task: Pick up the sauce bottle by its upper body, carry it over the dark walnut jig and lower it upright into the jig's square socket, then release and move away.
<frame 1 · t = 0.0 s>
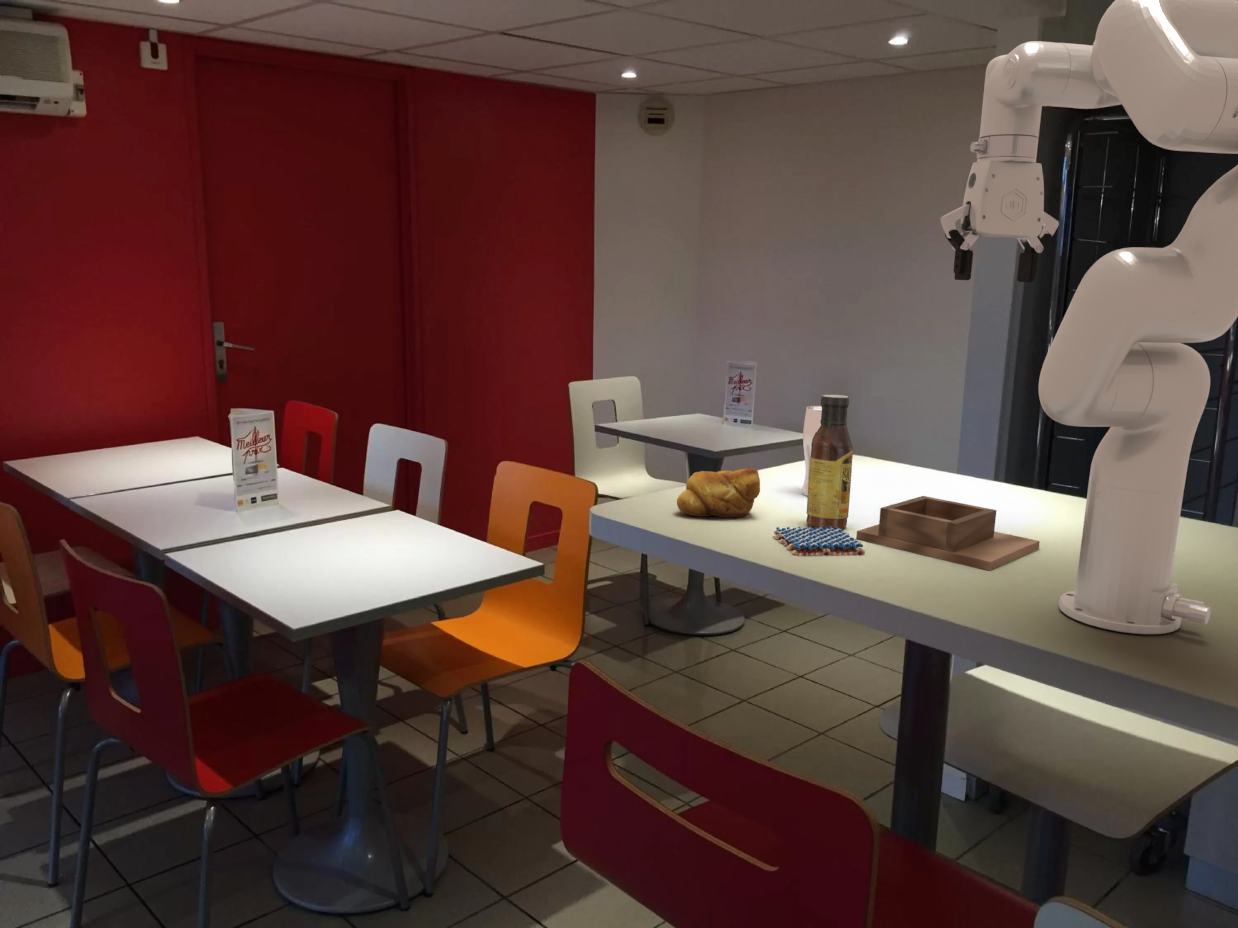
hand: (994, 281, 140), 37 cm above the table, tool pointing down, fingers open, 9 cm apart
woven mat: (816, 550, 142), on the table
bread roll: (714, 514, 159), on the table
sauce bottle: (826, 527, 153), on the table
beer glass: (819, 495, 175), on the table
walnut jig: (935, 544, 145), on the table
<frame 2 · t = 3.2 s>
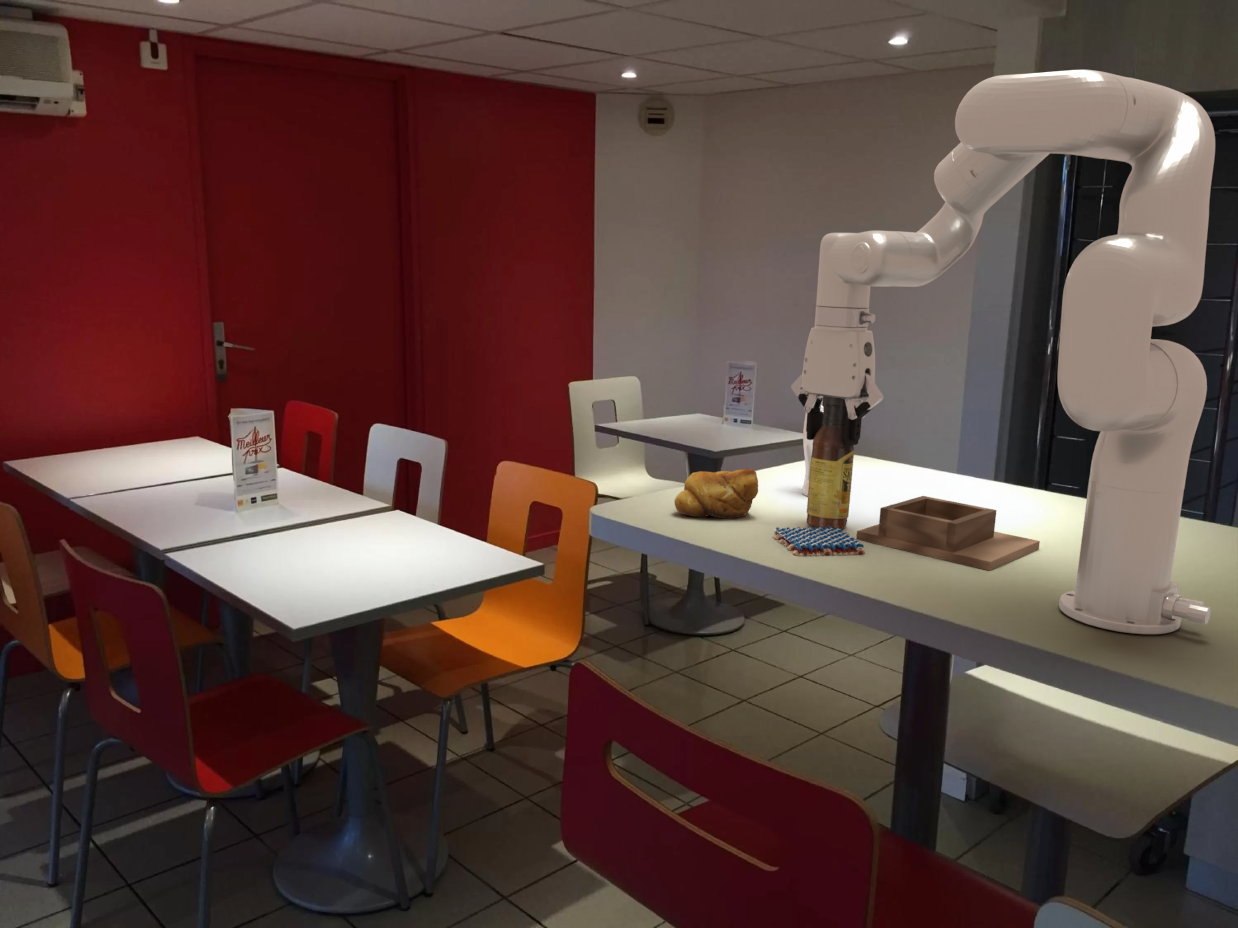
hand: (832, 440, 151), 13 cm above the table, tool pointing down, fingers closed on sauce bottle, 5 cm apart
sauce bottle: (826, 527, 153), on the table, touching gripper
everything else where it was.
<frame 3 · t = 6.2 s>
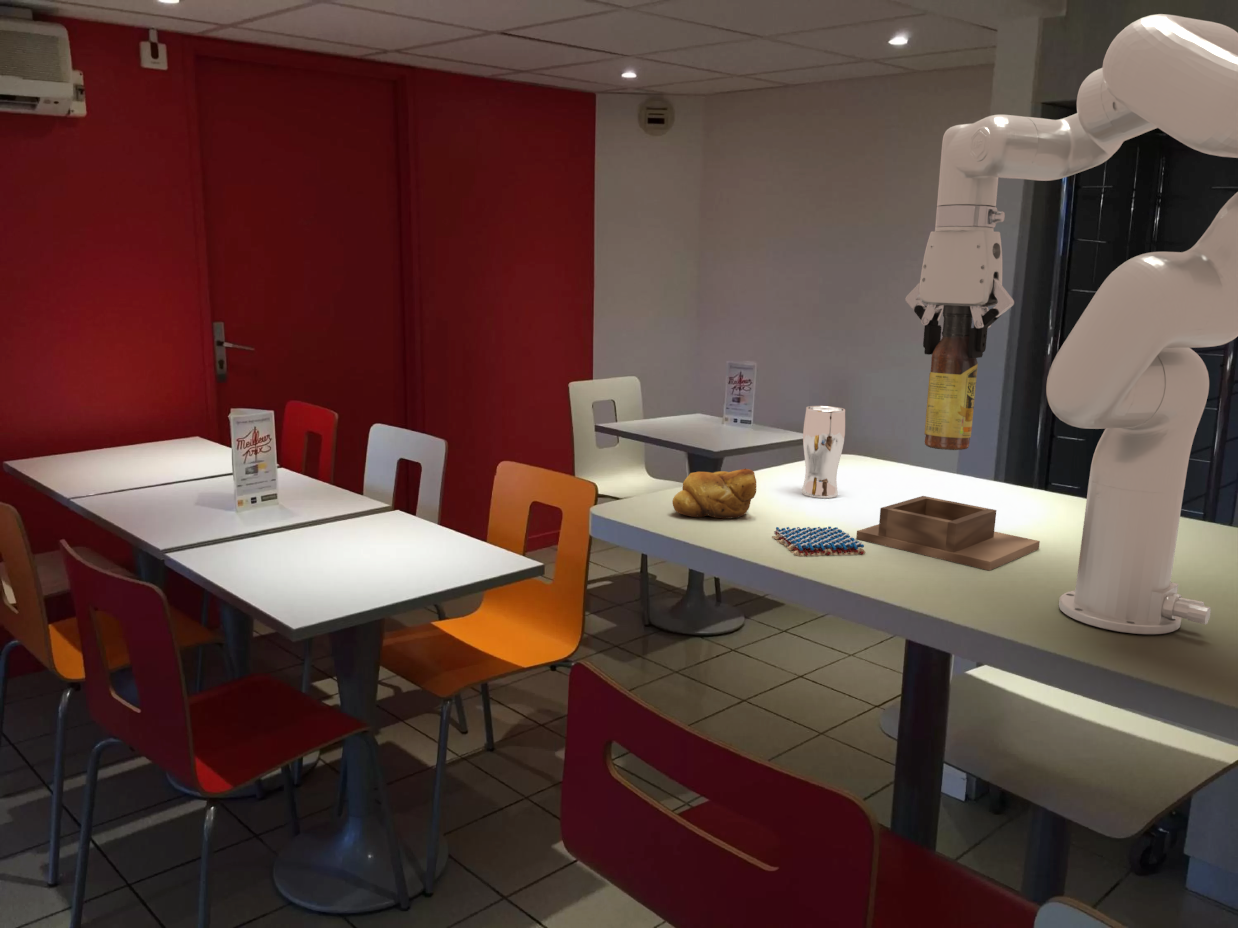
hand: (953, 354, 139), 27 cm above the table, tool pointing down, fingers closed on sauce bottle, 5 cm apart
sauce bottle: (945, 449, 142), point 14 cm above the table, touching gripper
everything else where it was.
when the fingers open (16 cm above the table, at t = 9.4 s): sauce bottle drops 1 cm, resting on walnut jig.
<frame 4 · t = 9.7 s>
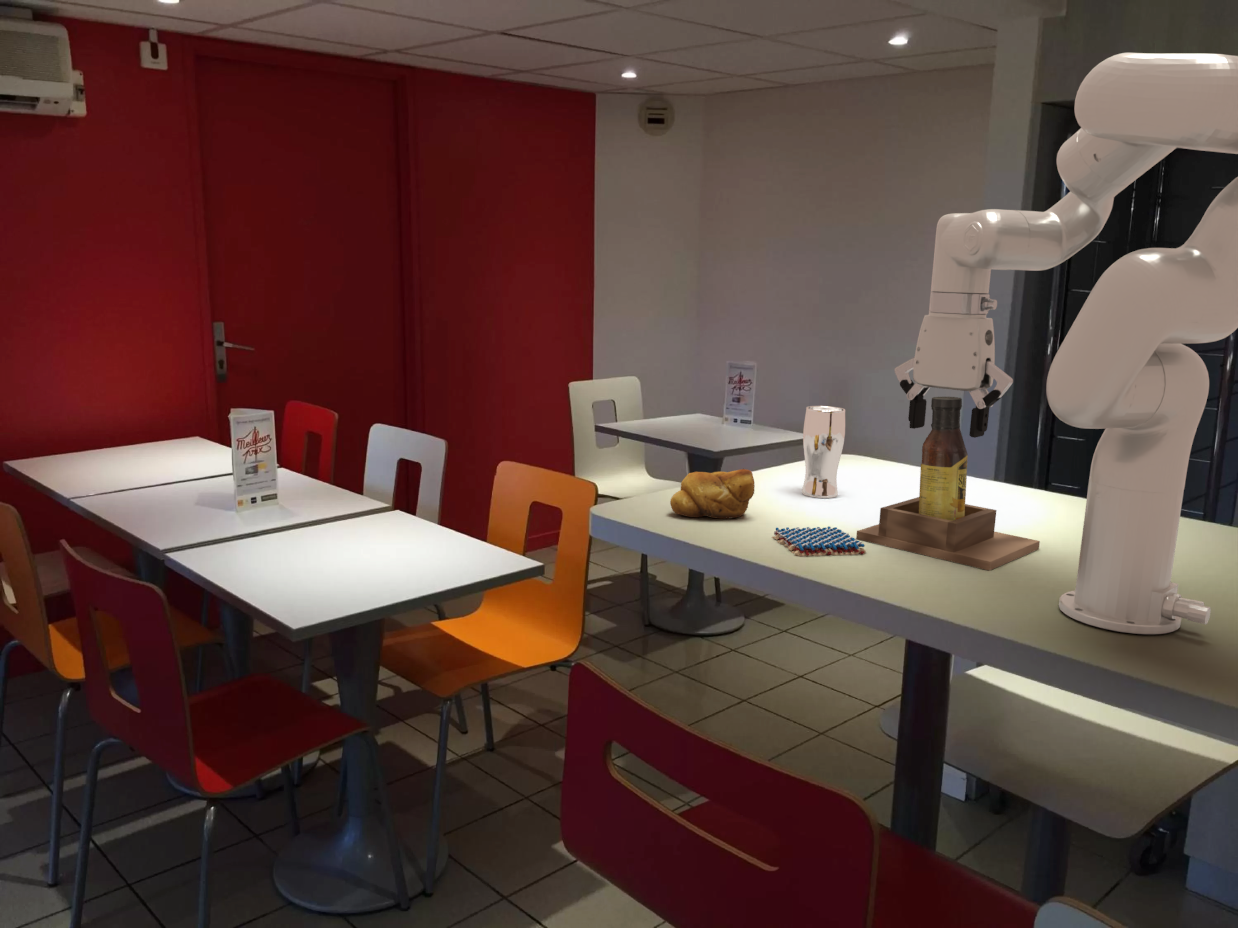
hand: (946, 431, 141), 16 cm above the table, tool pointing down, fingers open, 8 cm apart
sauce bottle: (939, 537, 144), point 1 cm above the table, touching walnut jig
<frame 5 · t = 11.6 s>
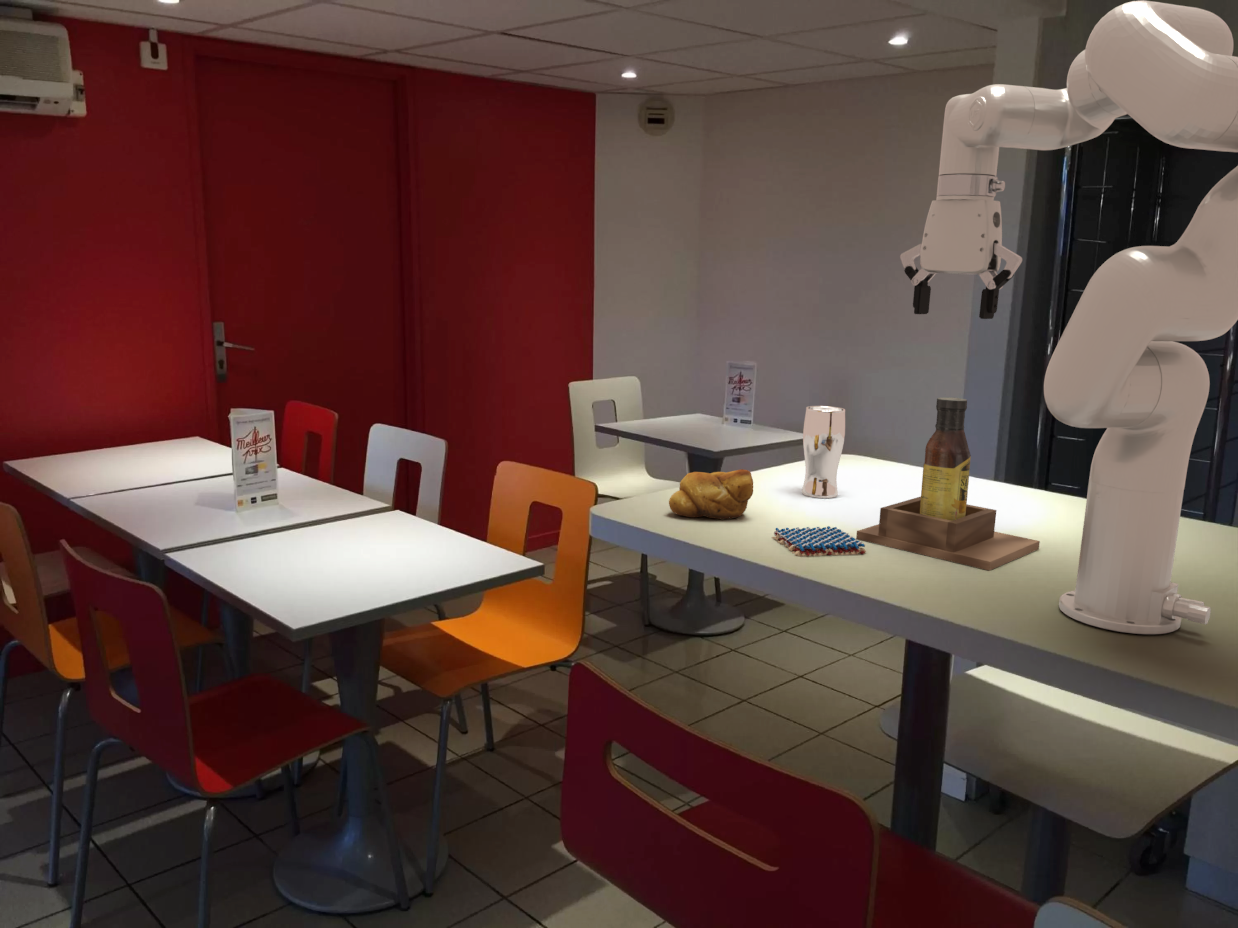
hand: (953, 316, 142), 32 cm above the table, tool pointing down, fingers open, 9 cm apart
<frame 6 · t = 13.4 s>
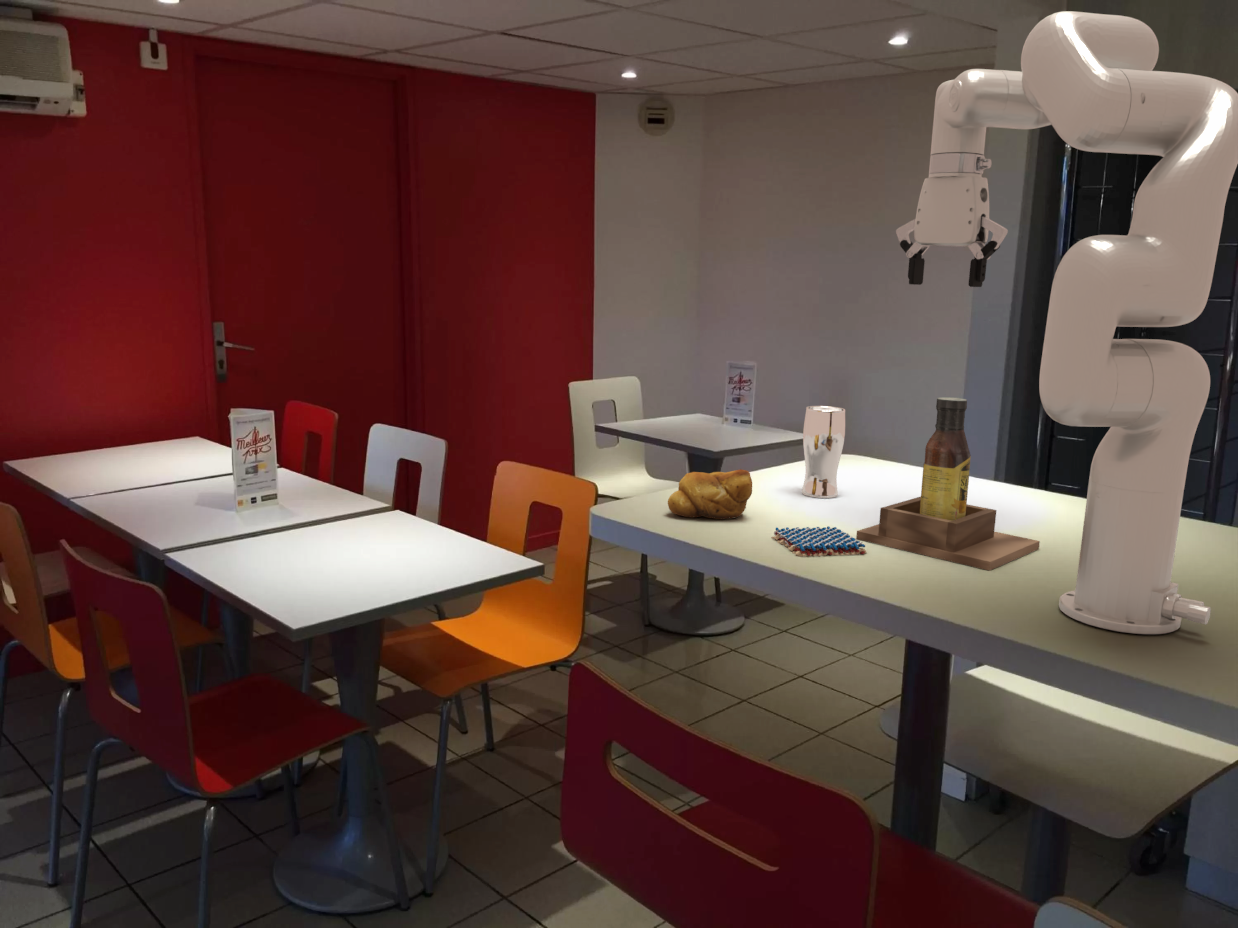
hand: (944, 285, 153), 36 cm above the table, tool pointing down, fingers open, 9 cm apart
at the end: sauce bottle 0.6 cm off-centre on the walnut jig, point 1.0 cm above the walnut jig's base; sauce bottle tilted 0°; the gripper is holding nothing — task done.
